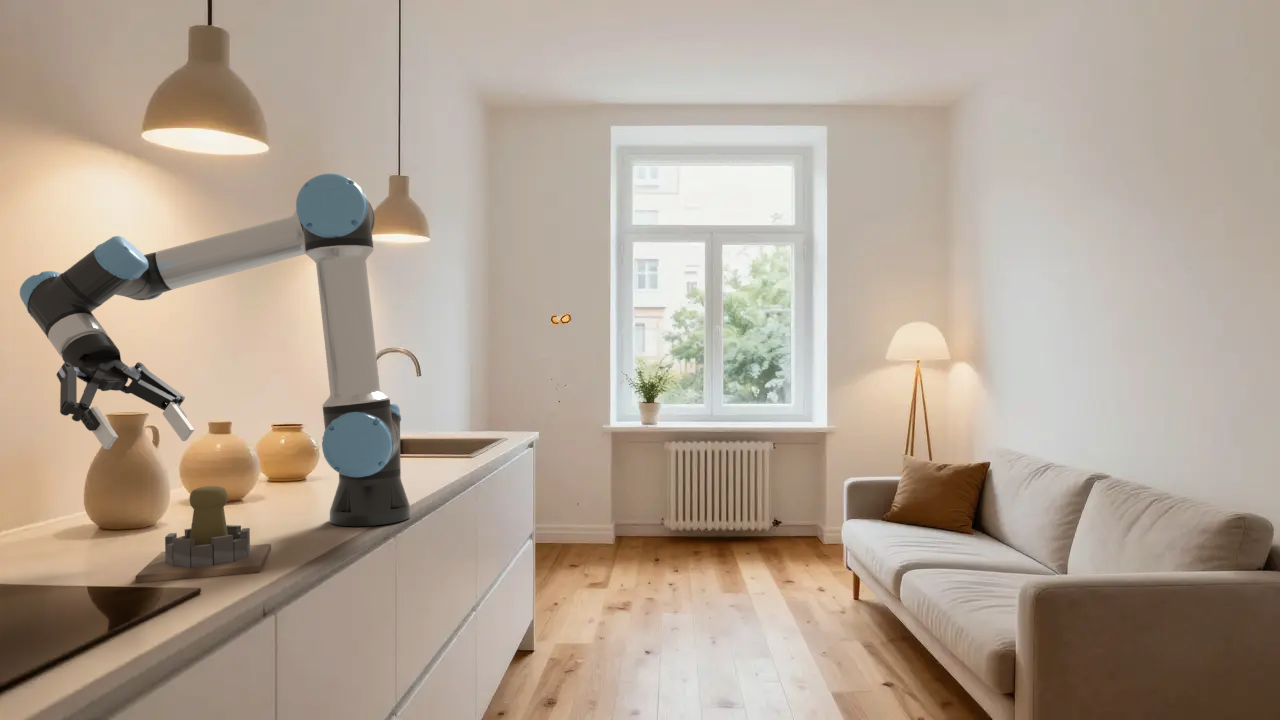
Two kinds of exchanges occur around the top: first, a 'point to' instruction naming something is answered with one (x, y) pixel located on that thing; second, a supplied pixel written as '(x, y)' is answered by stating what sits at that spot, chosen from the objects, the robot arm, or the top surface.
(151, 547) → the top surface
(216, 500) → the cork
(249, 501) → the top surface
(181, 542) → the collar
